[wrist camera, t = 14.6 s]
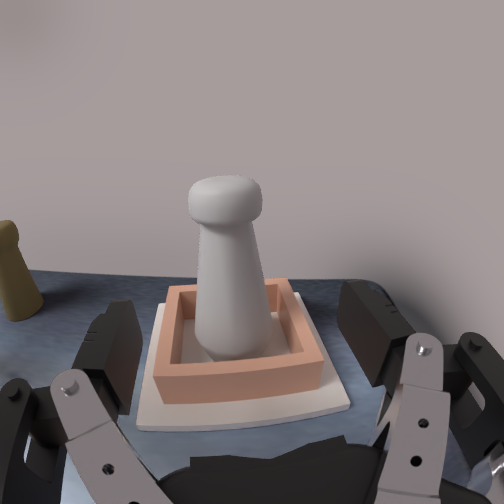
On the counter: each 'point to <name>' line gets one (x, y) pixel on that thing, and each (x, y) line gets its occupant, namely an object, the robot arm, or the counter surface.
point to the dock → (236, 371)
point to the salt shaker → (229, 270)
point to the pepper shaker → (16, 277)
